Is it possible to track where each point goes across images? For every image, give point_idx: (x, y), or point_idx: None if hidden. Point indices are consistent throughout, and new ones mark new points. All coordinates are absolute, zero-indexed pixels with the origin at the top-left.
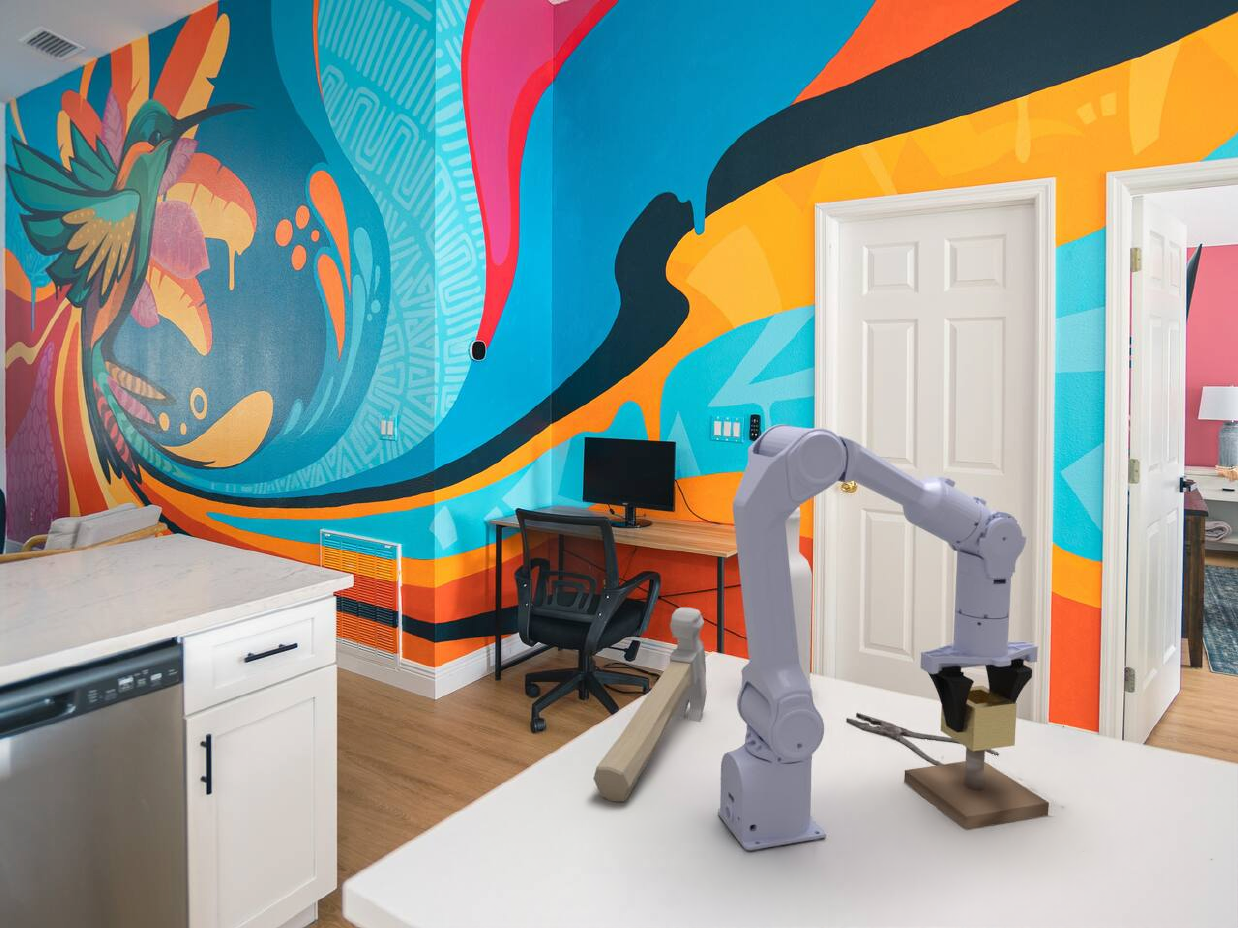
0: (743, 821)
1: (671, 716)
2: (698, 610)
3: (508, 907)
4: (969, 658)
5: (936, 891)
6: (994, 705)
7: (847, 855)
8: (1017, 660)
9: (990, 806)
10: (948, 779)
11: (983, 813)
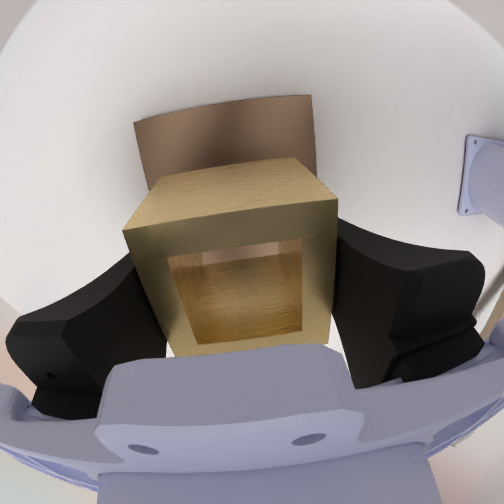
0: None
1: (482, 333)
2: (456, 446)
3: None
4: (473, 401)
5: (412, 9)
6: (232, 215)
7: (462, 100)
8: (53, 410)
9: (247, 116)
10: None
11: (274, 97)
